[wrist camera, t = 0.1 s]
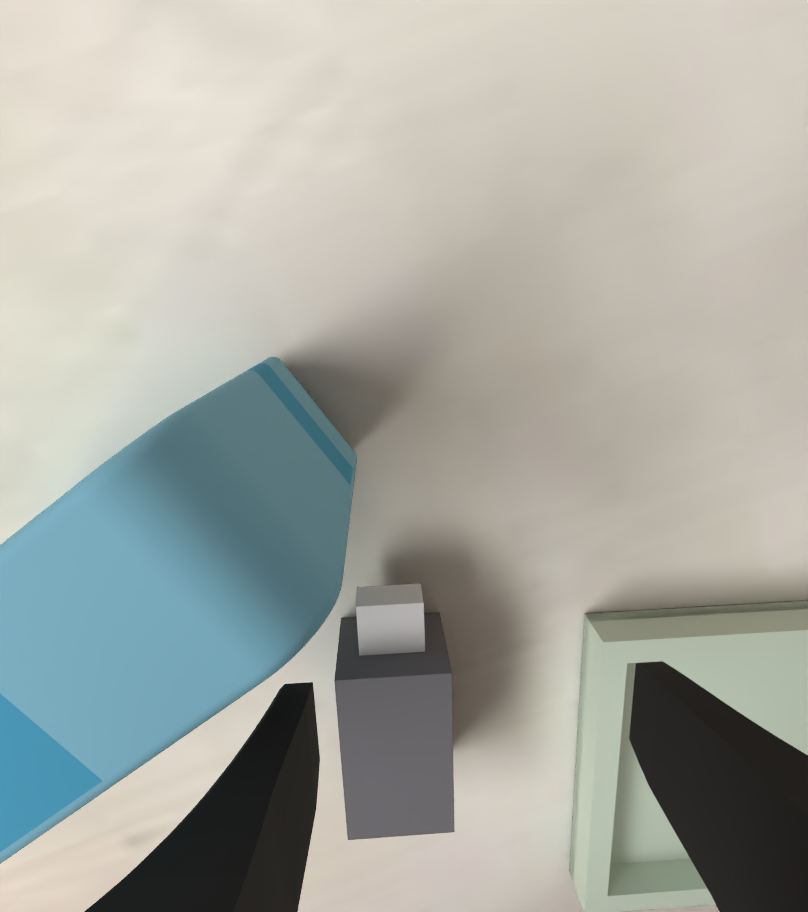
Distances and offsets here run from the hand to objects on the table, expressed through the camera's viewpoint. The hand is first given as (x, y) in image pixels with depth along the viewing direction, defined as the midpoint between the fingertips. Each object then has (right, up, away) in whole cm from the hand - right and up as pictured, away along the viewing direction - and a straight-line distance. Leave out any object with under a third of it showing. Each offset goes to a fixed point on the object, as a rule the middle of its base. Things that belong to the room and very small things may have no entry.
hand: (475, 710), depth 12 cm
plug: (-2, -4, +12) cm, 12 cm away
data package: (-9, +4, +9) cm, 14 cm away
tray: (+13, -7, +13) cm, 20 cm away
